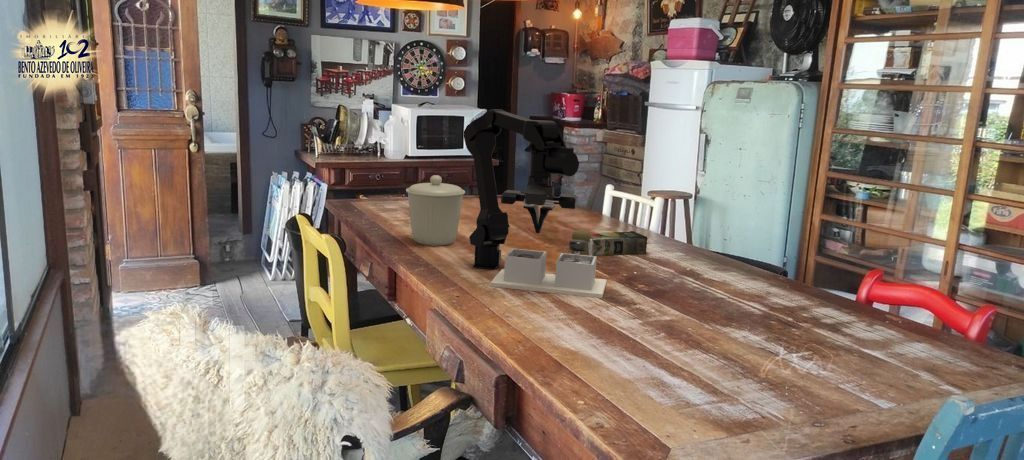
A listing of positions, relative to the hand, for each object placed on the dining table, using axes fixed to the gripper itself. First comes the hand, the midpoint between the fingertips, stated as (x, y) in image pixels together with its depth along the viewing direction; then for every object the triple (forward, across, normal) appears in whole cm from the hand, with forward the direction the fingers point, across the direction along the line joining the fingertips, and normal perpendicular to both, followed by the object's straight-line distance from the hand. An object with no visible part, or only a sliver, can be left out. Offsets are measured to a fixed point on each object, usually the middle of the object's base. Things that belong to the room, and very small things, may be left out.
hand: (537, 232), depth 184 cm
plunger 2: (+7, +10, 0) cm, 12 cm away
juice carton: (+14, +16, +45) cm, 50 cm away
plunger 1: (+12, -3, 0) cm, 12 cm away
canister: (+13, -38, +34) cm, 53 cm away
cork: (+13, +9, +19) cm, 25 cm away
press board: (+13, +4, 0) cm, 14 cm away
